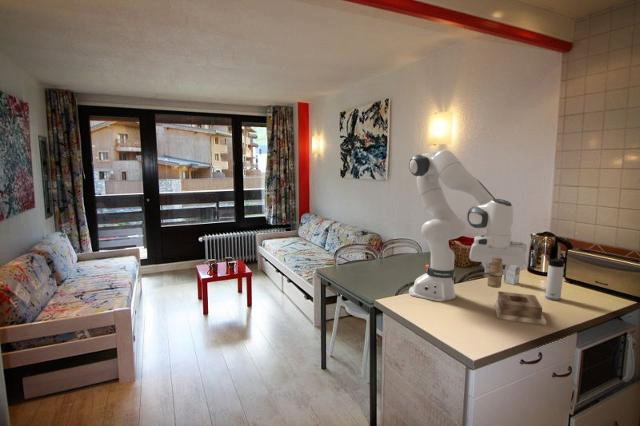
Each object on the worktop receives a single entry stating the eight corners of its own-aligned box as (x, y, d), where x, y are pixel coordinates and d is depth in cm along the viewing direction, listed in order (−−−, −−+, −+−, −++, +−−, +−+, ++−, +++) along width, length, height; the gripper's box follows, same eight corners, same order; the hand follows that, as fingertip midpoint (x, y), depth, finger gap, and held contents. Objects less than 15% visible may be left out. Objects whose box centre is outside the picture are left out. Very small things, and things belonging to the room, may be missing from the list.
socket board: (497, 318, 157) (498, 304, 156) (493, 302, 174) (494, 289, 173) (545, 324, 151) (547, 310, 150) (536, 308, 168) (538, 294, 167)
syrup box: (508, 280, 206) (510, 255, 204) (519, 283, 201) (521, 257, 199) (503, 282, 202) (505, 257, 200) (514, 285, 198) (516, 259, 195)
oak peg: (487, 287, 148) (490, 258, 146) (486, 282, 153) (489, 254, 151) (501, 288, 146) (504, 259, 144) (500, 284, 151) (503, 256, 149)
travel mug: (554, 301, 176) (558, 261, 173) (542, 296, 182) (546, 257, 179) (564, 300, 177) (568, 260, 174) (552, 295, 184) (556, 256, 181)
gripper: (526, 240, 146) (522, 274, 148) (470, 236, 153) (468, 268, 155) (529, 244, 140) (525, 279, 142) (471, 239, 147) (468, 272, 149)
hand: (495, 273), depth 149 cm, fingers closed on oak peg, 5 cm apart
